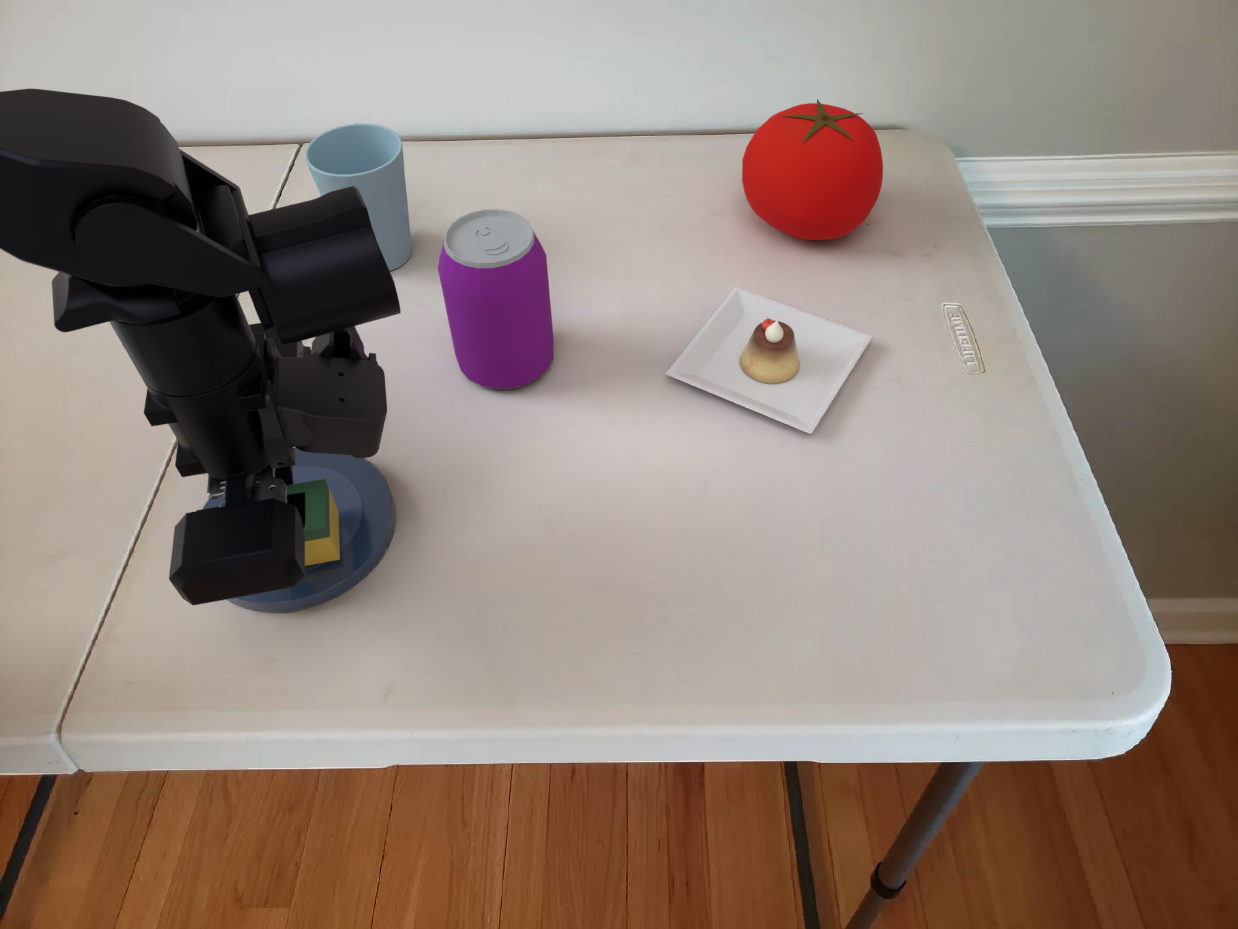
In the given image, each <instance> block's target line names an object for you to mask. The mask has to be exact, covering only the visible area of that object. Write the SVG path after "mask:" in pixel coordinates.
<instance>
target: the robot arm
mask: <svg viewBox="0 0 1238 929" xmlns="http://www.w3.org/2000/svg"><path fill="white" fill-rule="evenodd" d="M0 250H1V251H3V252H5V253H6V254H8V255H10V256H11V257H14V258H15V259H16V260H19V261H21V262H23V263H27V264H30V265H33V266H37V267H40V268H45V269H48V270H50V271H51V270H52V271H55V272H58V273H57V274H56V275H55V276H54V277H53V278H52V280H51V292H52V293H51V294H52V311H53V326H54V328H55V329H56V330H57V331H59V332H60V333H71V332H75V331H78V330H82V329H85V328H89V327H95V326H97V325H101V324H105V323H109V324H110V325H111V327H112V329H113V331H114V332H115V334H116V336H117V338H118V339H119V341H120V342H121V344H122V346H123V348H124V350H125V352H126V354H127V355H128V357H129V358H130V361H131V362H132V364H133V366H134V368H135V369H136V370H137V373H138V374H139V376H140V377H141V379H142V381H143V383H144V385H145V386H146V395H145V401H144V407H143V414H144V416H145V418H146V420H147V421H148V423H149V424H150V426H151V427H158V426H164V425H168V426H169V428H170V430H171V431H172V433H173V435H174V437H175V438H176V440H177V446H176V454H175V462H174V466H175V468H176V470H177V471H178V474H179V475H180V477H181V478H188V477H193V476H198V475H205V474H207V484H206V485H207V487H206V496H207V497H208V499H209V498H210V499H219V498H223V497H225V501H224V502H222V503H220V504H219V507H213V508H207V509H203V508H201V509H196V510H195V511H190V512H185V514H184V515H183V516H182V517H181V519H179V521H178V522H177V523H176V524H175V525H174V530H173V539H172V549H171V556H170V566H169V575H168V581H169V582H170V583H171V584H172V586H173V588H174V589H175V590H176V591H177V593H178V594H179V595H180V597H181V599H182V600H184V601H186V603H188V604H190V605H191V606H197V605H203V604H204V605H205V604H208V603H215V602H220V601H225V600H226V601H227V599H232V598H237V597H243V596H248V595H254V594H259V593H265V592H270V591H276V590H281V589H287V588H292V587H295V586H296V585H297V584H298V583H299V582H300V581H301V580H302V579H303V578H304V577H305V535H304V528H305V505H306V493H305V492H301V493H295V494H289V495H287V486H286V485H291V484H294V481H293V471H292V466H293V465H295V458H296V453H295V451H294V448H295V447H296V448H297V449H299V450H301V451H304V452H310V453H326V454H342V455H352V456H353V457H355V458H364V459H367V458H371V457H374V456H375V455H377V454H378V452H379V450H380V446H381V441H382V438H383V433H384V429H385V428H384V427H385V422H386V419H387V414H388V400H387V389H386V388H387V386H386V374H385V371H384V369H383V367H382V366H381V365H380V364H378V361H377V353H376V352H368V356H367V354H366V352H365V345H364V342H363V340H362V338H361V336H360V334H359V332H358V330H357V328H356V326H361V325H364V324H367V323H371V322H373V321H374V322H375V321H378V320H382V319H386V318H389V317H393V316H396V315H399V314H401V313H402V311H401V310H402V309H401V303H400V300H399V295H398V291H397V287H396V282H395V280H394V278H393V275H392V273H391V271H389V268H388V266H387V264H386V261H385V259H384V257H383V254H382V252H381V250H380V247H379V245H378V242H377V239H376V237H375V234H374V231H373V228H372V225H371V222H370V218H369V214H368V210H367V207H366V205H365V203H364V201H363V198H362V196H361V194H360V191H359V189H358V188H356V187H354V186H351V187H347V188H343V189H339V190H335V191H331V192H328V193H326V194H324V195H322V196H321V195H320V196H318V197H316V198H313V199H309V200H306V201H301V202H297V203H293V204H289V205H284V206H281V207H277V208H272V209H268V210H264V211H259V212H256V213H251V214H249V212H248V209H247V207H246V203H245V201H244V197H243V194H242V190H241V187H240V186H239V185H237V183H234V182H233V181H232V180H229V179H228V178H226V177H225V176H223V175H222V174H220V173H218V172H217V171H216V170H214V169H212V168H211V167H209V166H208V165H206V164H204V163H203V162H201V161H199V160H198V159H196V158H195V157H193V156H191V154H189V153H187V152H185V151H184V150H182V149H181V148H180V147H179V144H178V141H177V140H176V139H175V137H174V136H173V135H172V134H171V132H170V130H168V128H167V127H166V126H165V125H164V123H162V121H161V119H160V118H159V116H157V115H155V114H154V113H153V112H152V111H149V109H147V108H145V107H143V106H140V105H138V104H136V103H133V102H131V101H129V100H126V99H122V98H116V97H111V96H103V95H95V94H94V95H93V94H86V93H85V94H84V93H76V92H67V91H58V90H51V89H41V88H21V89H13V90H3V91H0ZM247 292H248V294H249V297H250V300H251V302H252V304H253V307H254V310H255V313H256V316H257V317H258V320H259V322H257V323H250V324H249V320H248V319H247V317H246V315H245V312H244V309H243V308H242V305H241V302H240V300H239V298H238V295H240V294H242V293H243V294H244V293H247ZM313 338H314V339H313ZM310 339H313V340H312V343H311V346H307V345H304V343H303V341H307V340H310Z"/></svg>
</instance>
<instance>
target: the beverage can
mask: <svg viewBox="0 0 1238 929" xmlns="http://www.w3.org/2000/svg"><path fill="white" fill-rule="evenodd" d="M547 260H548V258H547V254H546V252H545V248H543V246H542V243H541V242H540V240H539V238H538V236H537V235H536V233H535V231H534V228H533V227H532V225H531V223H530V221H529V220H527V219H526V218H525V217H524V216H523V215H521V214H518V213H517V212H514V211H512V210H507V209H501V208H484V209H479V210H474V211H471V212H468V213H466V214H464V215H461V216H459V217H458V218H456V219H455V220H454V221H452V222H451V223H450V224H449V225H448V227H447V229H446V230H445V232H444V237H443V242H442V245H441V250H440V254H439V259H438V265H437V272H438V276H439V281H440V286H441V291H442V296H443V299H444V300H443V301H444V306H445V312H446V316H447V321H448V326H449V331H450V336H451V341H452V346H453V352H454V356H455V358H456V361H457V364H458V367H459V369H460V372H461V373H462V374H463V375H464V376H465V377H466V378H467V379H468V380H469V381H471V382H473V383H475V384H476V385H478V386H481V387H484V388H489V389H494V390H512V389H517V388H521V387H524V386H527V385H528V384H530V383H533V381H535V380H537V379H539V378H540V377H542V375H544V373H546V372H547V371H548V370H549V368H550V366H551V364H552V362H553V360H554V348H555V347H554V346H555V338H554V328H553V318H552V306H551V295H550V294H551V293H550V282H549V272H548V269H549V268H548V261H547Z"/></svg>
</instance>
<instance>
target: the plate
mask: <svg viewBox="0 0 1238 929" xmlns="http://www.w3.org/2000/svg"><path fill="white" fill-rule="evenodd" d="M293 448H294V451H295V453H296V458H295V465H293V466H292V471H293V481H294V484H297V483H303V482H309V481H314V480H320V479H325V480H326V482H327V485H328V487H329V489H330V491H331V494H332V496H333V499H334V501H335V504H336V506H337V508H338V511H339V543H340V560H335V561H330V562H324V563H319V564H313V565H308V566H305V577H304V578H303V579H302V580H301V581H300V582H299V583H298V584H297V585H296V586H295V587H292V588H287V589H281V590H276V591H270V592H265V593H259V594H254V595H248V596H243V597H237V598H232V599H226V601H228V602H229V603H232V604H233V605H236V606H239V607H241V608H244V609H247V610H251V611H256V612H261V613H263V612H264V613H290V612H296V611H301V610H307V609H310V608H314V607H316V606H319V605H322V604H325V603H327V602H329V601H331V600H333V599H336V598H338V597H340V596H341V595H343V594H344V593H346V592H348V591H350V590H351V589H353V587H355V586H356V585H357V584H359V583H360V582H362V581H363V580H364V579H365V578H366V577H367V576H368V575H369V574H370V573H371V572H372V571H373V570H374V569H375V567H376V566H377V565H378V564H379V562H381V559H382V558H383V556H384V555H385V554H386V552H387V550H388V547H389V546H390V543H391V541H392V538H393V535H394V532H395V526H396V507H395V501H394V498H393V495H392V492H391V490H390V487H389V484H388V481H387V480H386V478H385V477H384V475H383V474H382V473H381V471H380V470H379V469H378V467H376V466H375V465H374V464H372V462H370V461H369V460H367V458H355V457H353V456H352V455H342V454H326V453H310V452H304V451H301V450H299V449H297V448H296V447H293ZM224 501H225V497H223V498H219V499H210V498H209V497H208V499H207V501H206V502H205V504H204V505H203V507H202V509H207V508H213V507H219V504H220V503H222V502H224Z"/></svg>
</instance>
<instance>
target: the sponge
mask: <svg viewBox="0 0 1238 929" xmlns="http://www.w3.org/2000/svg"><path fill="white" fill-rule="evenodd" d="M286 486H287V495H289V494H295V493H301V492H305V493H306V505H305V528H304V535H305V566H308V565H313V564H319V563H324V562H330V561H335V560H340V543H339V511H338V508H337V506H336V504H335V501H334V499H333V496H332V494H331V491H330V489H329V487H328V485H327V482H326V480H325V479H320V480H314V481H309V482H303V483H297V484H291V485H286Z"/></svg>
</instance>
